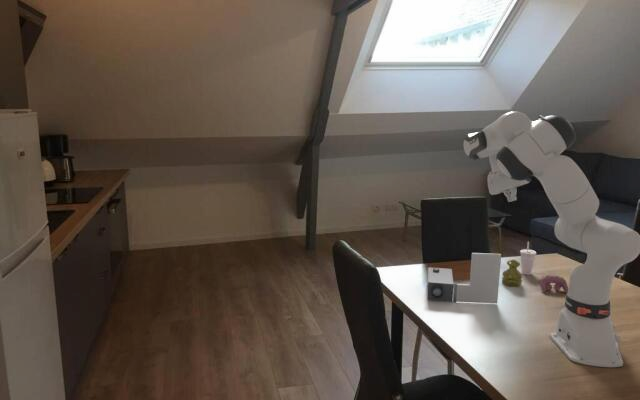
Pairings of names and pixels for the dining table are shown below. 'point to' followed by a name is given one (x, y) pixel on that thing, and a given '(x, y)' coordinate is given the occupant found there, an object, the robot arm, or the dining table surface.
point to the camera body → (440, 284)
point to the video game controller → (557, 280)
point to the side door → (480, 280)
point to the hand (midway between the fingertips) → (512, 201)
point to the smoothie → (527, 260)
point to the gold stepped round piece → (512, 275)
